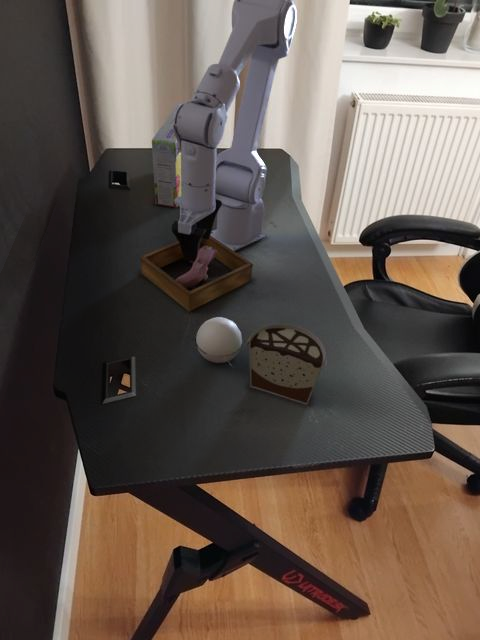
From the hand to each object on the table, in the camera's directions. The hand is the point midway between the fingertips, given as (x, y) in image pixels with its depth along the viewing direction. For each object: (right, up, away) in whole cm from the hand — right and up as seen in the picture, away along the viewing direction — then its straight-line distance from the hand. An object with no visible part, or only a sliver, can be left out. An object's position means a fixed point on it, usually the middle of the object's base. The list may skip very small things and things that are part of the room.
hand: (197, 248), depth 104 cm
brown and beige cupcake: (+15, -24, -14) cm, 31 cm away
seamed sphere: (+5, -21, -12) cm, 24 cm away
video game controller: (-1, -5, +5) cm, 7 cm away
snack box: (-8, +20, +30) cm, 37 cm away
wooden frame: (-1, -5, +4) cm, 6 cm away
